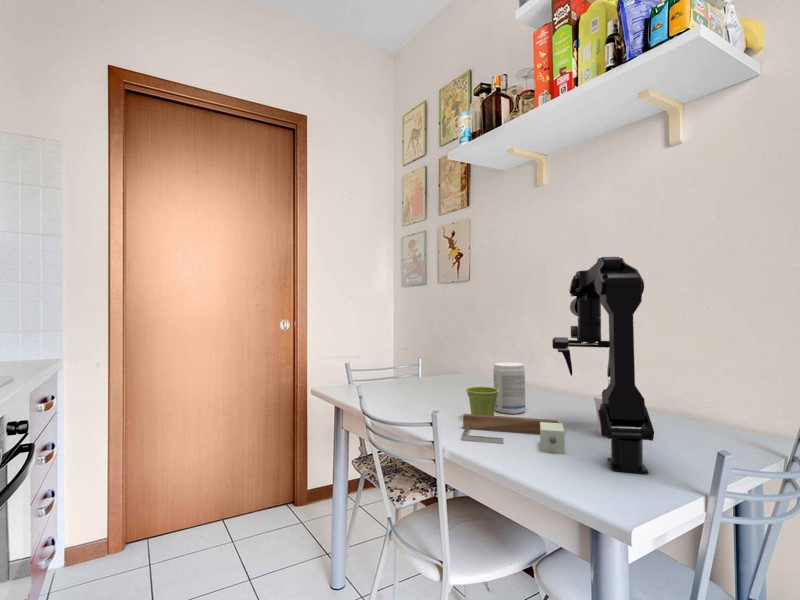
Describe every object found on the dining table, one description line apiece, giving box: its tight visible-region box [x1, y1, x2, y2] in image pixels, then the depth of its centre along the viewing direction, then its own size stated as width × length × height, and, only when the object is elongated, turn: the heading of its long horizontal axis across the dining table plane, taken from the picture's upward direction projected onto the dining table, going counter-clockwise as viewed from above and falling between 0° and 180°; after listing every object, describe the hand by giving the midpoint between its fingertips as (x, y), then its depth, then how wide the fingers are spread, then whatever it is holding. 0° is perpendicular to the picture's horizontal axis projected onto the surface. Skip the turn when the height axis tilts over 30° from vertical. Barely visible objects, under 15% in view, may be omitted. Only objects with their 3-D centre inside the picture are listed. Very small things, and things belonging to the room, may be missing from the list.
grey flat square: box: [460, 426, 504, 444], centre depth 111 cm, size 10×10×1 cm
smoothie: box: [593, 379, 618, 438], centre depth 112 cm, size 6×6×14 cm
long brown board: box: [462, 413, 559, 436], centre depth 116 cm, size 2×24×4 cm, turn 74°
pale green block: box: [539, 422, 566, 454], centre depth 102 cm, size 8×5×5 cm, turn 164°
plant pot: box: [465, 386, 499, 416], centre depth 127 cm, size 9×9×9 cm
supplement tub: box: [492, 361, 526, 415], centre depth 138 cm, size 10×10×15 cm
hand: (589, 376), depth 118 cm, fingers open, 9 cm apart
